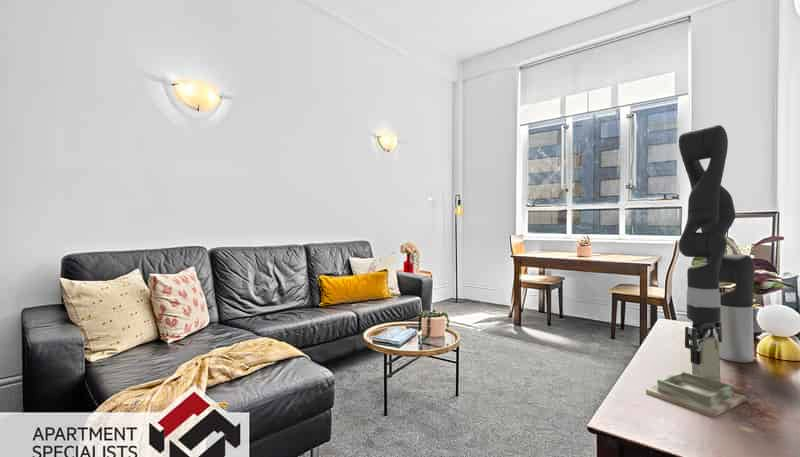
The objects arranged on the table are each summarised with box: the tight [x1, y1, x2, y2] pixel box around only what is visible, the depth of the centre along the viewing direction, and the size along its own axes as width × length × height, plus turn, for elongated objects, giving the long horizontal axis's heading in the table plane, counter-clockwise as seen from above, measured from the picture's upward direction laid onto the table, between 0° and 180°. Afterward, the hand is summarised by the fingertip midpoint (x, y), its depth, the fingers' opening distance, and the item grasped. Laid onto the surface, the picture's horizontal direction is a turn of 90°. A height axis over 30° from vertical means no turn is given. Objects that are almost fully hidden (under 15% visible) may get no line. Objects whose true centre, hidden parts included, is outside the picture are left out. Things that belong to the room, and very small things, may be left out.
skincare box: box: [691, 337, 722, 383], centre depth 110 cm, size 6×4×12 cm
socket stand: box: [645, 370, 747, 418], centre depth 100 cm, size 16×15×4 cm
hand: (704, 361), depth 110 cm, fingers open, 8 cm apart
